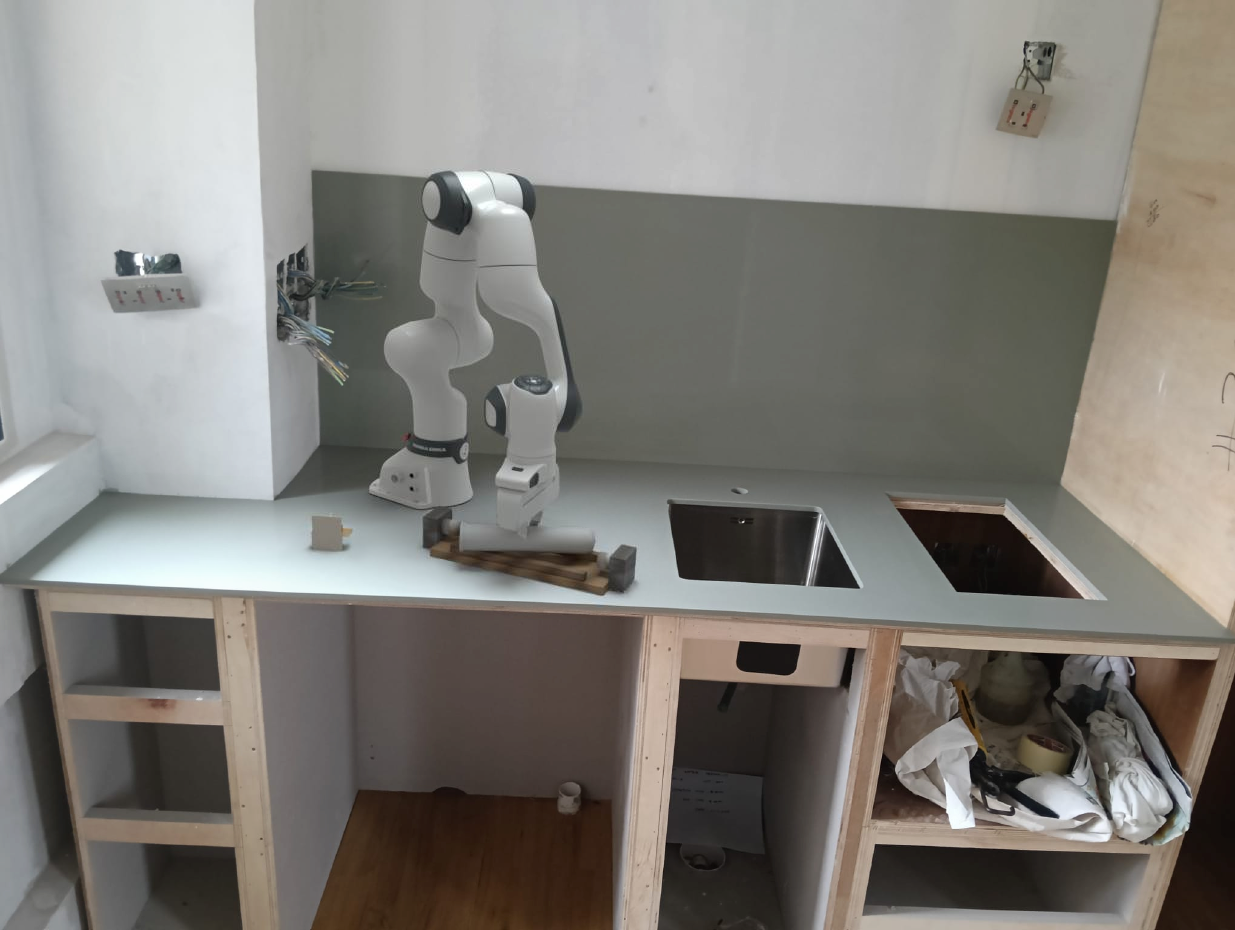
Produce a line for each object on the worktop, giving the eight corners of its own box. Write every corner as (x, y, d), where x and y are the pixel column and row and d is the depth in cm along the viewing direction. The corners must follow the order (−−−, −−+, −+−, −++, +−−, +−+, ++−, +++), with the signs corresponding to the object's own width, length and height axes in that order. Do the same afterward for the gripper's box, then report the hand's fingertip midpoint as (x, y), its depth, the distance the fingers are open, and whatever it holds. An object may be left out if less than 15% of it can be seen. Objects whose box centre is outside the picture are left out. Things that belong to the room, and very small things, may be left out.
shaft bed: (416, 552, 188) (415, 521, 186) (445, 531, 198) (445, 501, 196) (618, 598, 176) (620, 565, 173) (638, 574, 185) (641, 542, 183)
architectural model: (317, 544, 190) (315, 508, 187) (353, 546, 190) (352, 510, 188) (312, 551, 187) (310, 515, 184) (348, 554, 187) (347, 517, 184)
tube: (595, 527, 188) (461, 522, 185) (597, 526, 183) (460, 522, 180) (594, 555, 187) (460, 551, 185) (596, 555, 182) (458, 551, 180)
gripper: (538, 446, 190) (536, 512, 195) (490, 479, 172) (489, 552, 177) (569, 451, 188) (566, 518, 193) (523, 486, 170) (521, 559, 175)
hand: (529, 535), depth 185 cm, fingers open, 4 cm apart
